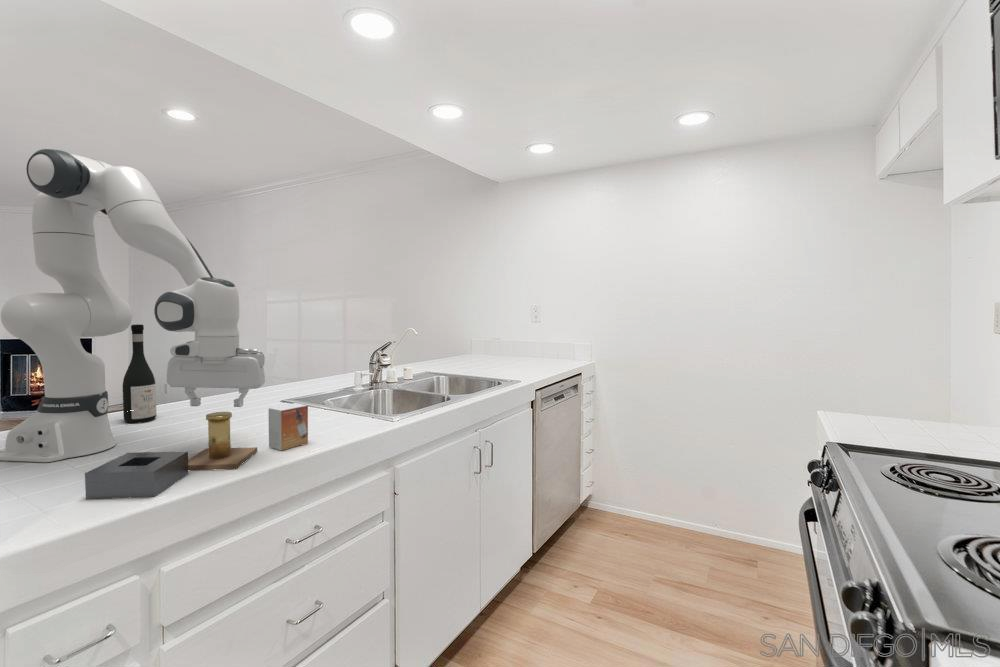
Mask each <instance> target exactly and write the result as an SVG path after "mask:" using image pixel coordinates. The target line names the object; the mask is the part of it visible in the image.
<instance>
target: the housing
mask: <svg viewBox="0 0 1000 667" xmlns="http://www.w3.org/2000/svg"><path fill="white" fill-rule="evenodd" d="M188 459H189V451H185V450H183V451H149V452H147V451H146V452H145V451H144V452H143V451H142V452H140V451H139V452H126V453H124V454H122V455H120V456H118V457H115V458H114V459H112V460H109V461H108V462H105V463H104V464H101V465H99V466H97V467H94V468H93V469H91V470H89V471H86V472H85V473H84V486H85V489H84V490H85V500H93V499H94V500H97V499H100V500H101V498H102V499H126V498H127V499H128V498H129V497H131V498H153V497H157V496H158V495H159V493H160V494H161V493H163V492H164V491H166V490H167V489H169V488H170V487H171V486H173V485H174V484H175V482H176V483H177V482H178V480H179V481H180V480H181V479H183V478H185V477H186V476H188V475H189V472H190V471H188ZM156 495H157V496H156Z"/></svg>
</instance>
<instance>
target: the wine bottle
mask: <svg viewBox="0 0 1000 667" xmlns="http://www.w3.org/2000/svg"><path fill="white" fill-rule="evenodd" d="M144 328H145V327H144V324H141V323H140V324H138V323H137V324H130V330H131V337H132V339H131V340H132V353H131V354H132V356H131V360H130V362H129V365H128V368H127V369H126V372H125V373H124V377H123V381H122V407H123V410H122V411H123V420H124V421H125V423H128V424H140V423H139V422H142V423H146V422H145V421H147V422H150V421H149V420H151V421H153V420H155V419H156V417H157V389H156V388H157V387H156V379H155V376H154V374H153V371H152V369H151V368H150V366H149V364H148V362H147V360H146V357H145V350H144ZM130 410H134V411H130ZM127 411H128V412H127Z"/></svg>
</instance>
